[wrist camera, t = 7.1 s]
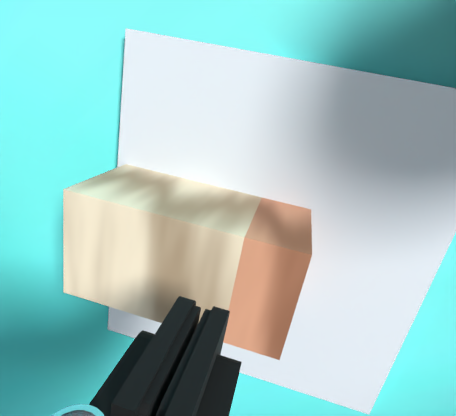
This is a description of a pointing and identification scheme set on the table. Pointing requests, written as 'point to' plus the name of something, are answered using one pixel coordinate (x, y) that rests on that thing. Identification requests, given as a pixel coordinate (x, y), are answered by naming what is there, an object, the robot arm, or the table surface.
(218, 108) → the white square plate
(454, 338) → the table surface
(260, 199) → the maple block
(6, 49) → the table surface
